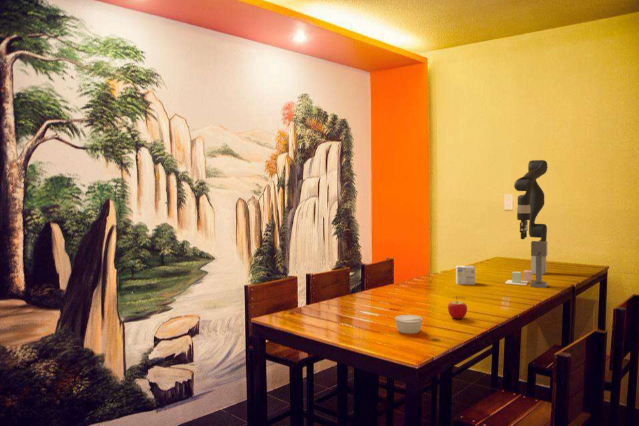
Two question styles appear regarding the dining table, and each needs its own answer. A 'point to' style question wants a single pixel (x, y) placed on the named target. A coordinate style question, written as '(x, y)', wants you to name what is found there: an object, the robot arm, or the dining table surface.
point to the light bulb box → (465, 275)
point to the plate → (516, 283)
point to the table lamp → (539, 261)
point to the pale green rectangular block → (516, 277)
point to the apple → (457, 309)
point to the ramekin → (408, 324)
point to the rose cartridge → (527, 275)
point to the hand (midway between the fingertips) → (523, 238)
